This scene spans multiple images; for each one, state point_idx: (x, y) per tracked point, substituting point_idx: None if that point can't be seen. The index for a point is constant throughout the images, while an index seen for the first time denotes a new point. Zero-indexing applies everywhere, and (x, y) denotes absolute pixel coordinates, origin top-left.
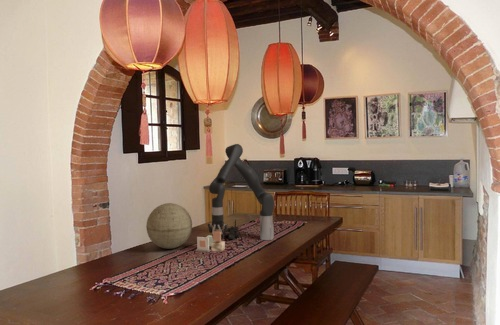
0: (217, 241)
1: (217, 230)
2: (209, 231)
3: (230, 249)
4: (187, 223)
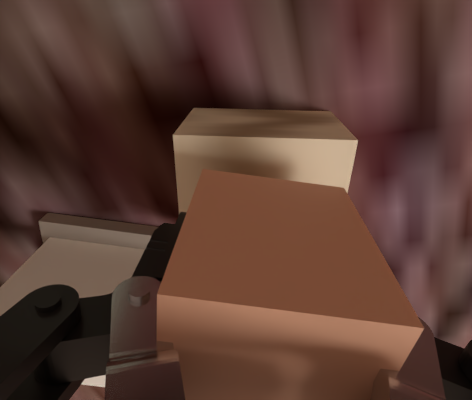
0: (232, 164)
1: (230, 342)
2: (35, 376)
3: (407, 142)
4: None
